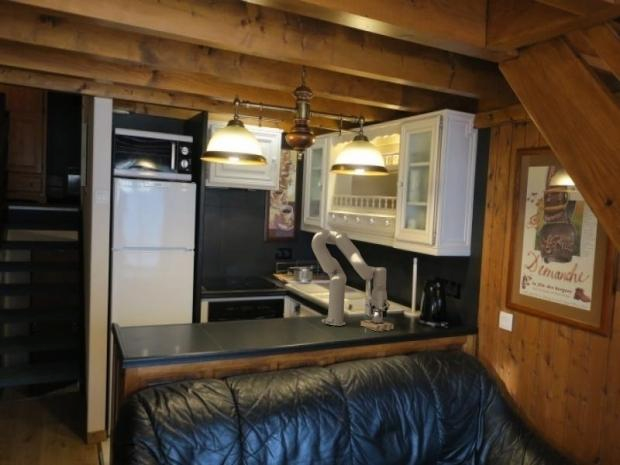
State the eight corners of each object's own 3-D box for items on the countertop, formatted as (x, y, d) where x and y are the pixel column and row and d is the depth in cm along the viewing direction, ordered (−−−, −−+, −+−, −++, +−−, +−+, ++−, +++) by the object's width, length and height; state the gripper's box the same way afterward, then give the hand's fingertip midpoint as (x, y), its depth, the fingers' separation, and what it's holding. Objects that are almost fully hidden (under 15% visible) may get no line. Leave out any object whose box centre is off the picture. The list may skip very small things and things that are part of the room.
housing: (376, 332, 291) (376, 326, 291) (360, 326, 302) (360, 321, 302) (393, 329, 299) (393, 323, 299) (377, 324, 310) (377, 318, 310)
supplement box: (364, 314, 336) (365, 296, 335) (374, 314, 338) (375, 296, 337) (368, 317, 329) (369, 298, 328) (378, 317, 331) (379, 298, 330)
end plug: (376, 330, 296) (377, 310, 295) (369, 327, 301) (370, 308, 301) (384, 328, 300) (385, 309, 299) (376, 326, 305) (378, 307, 304)
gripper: (365, 286, 304) (364, 313, 305) (385, 290, 290) (384, 319, 291) (374, 285, 308) (373, 312, 309) (394, 289, 294) (393, 317, 295)
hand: (378, 315), depth 300 cm, fingers open, 9 cm apart
